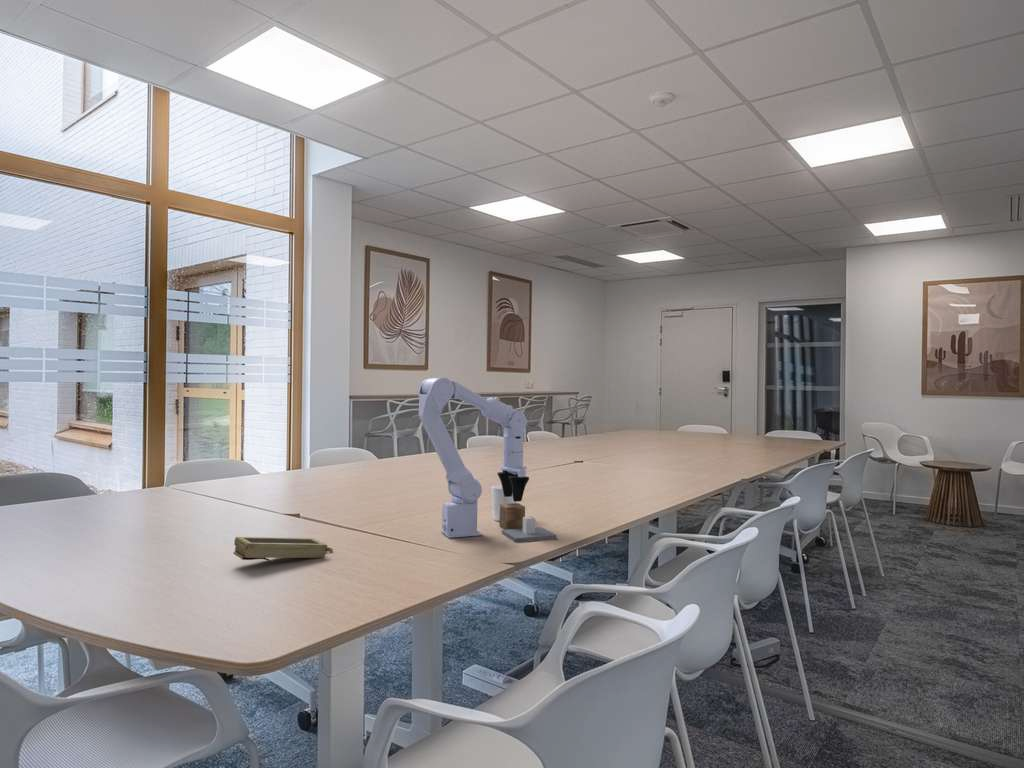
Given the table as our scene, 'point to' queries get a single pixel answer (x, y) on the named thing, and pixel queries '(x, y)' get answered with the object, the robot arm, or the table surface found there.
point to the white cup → (499, 500)
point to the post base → (529, 537)
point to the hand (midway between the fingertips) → (512, 498)
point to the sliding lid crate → (511, 516)
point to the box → (279, 548)
